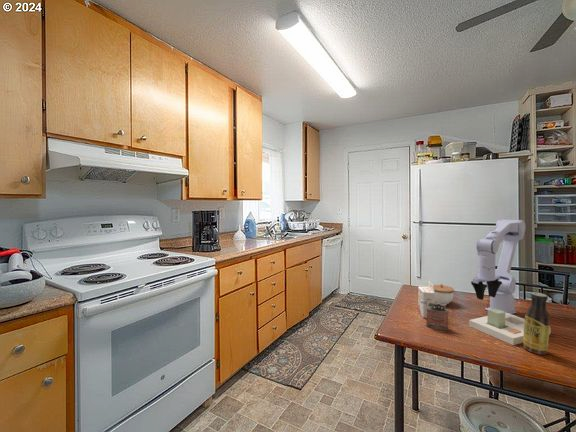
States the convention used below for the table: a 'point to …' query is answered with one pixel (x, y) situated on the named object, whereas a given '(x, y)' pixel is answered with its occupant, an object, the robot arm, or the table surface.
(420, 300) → the ink cartridge box
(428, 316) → the lighter
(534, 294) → the sauce bottle
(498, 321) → the peg
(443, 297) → the lidded jar
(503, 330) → the slot board
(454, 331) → the table surface
